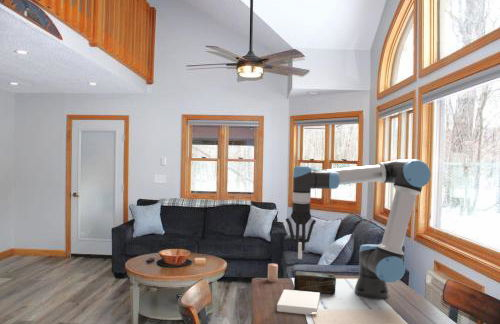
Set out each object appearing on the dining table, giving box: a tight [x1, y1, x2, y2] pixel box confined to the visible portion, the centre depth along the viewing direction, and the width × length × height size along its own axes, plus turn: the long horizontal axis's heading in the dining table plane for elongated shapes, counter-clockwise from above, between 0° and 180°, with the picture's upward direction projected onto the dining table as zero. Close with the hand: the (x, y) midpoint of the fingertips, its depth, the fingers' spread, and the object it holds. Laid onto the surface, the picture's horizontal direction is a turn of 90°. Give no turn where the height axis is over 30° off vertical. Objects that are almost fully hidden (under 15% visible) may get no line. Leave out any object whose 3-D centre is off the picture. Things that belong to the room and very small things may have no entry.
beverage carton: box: [293, 271, 337, 295], centre depth 194 cm, size 8×19×7 cm
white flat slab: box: [276, 288, 321, 315], centre depth 175 cm, size 16×20×3 cm
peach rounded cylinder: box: [267, 263, 279, 283], centre depth 210 cm, size 5×5×8 cm
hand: (299, 258), depth 175 cm, fingers closed
